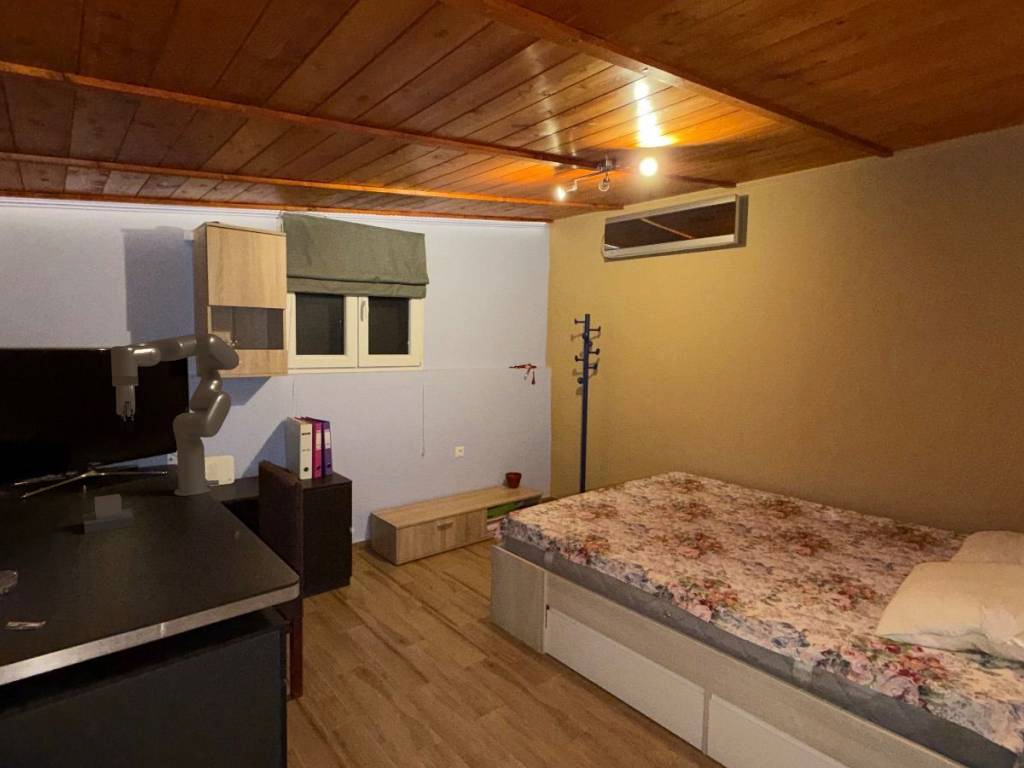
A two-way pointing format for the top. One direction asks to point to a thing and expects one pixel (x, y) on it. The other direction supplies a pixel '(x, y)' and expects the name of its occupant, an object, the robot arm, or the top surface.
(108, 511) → the grey cube
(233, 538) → the top surface
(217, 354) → the robot arm
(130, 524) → the grey block
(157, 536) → the top surface
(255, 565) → the top surface
